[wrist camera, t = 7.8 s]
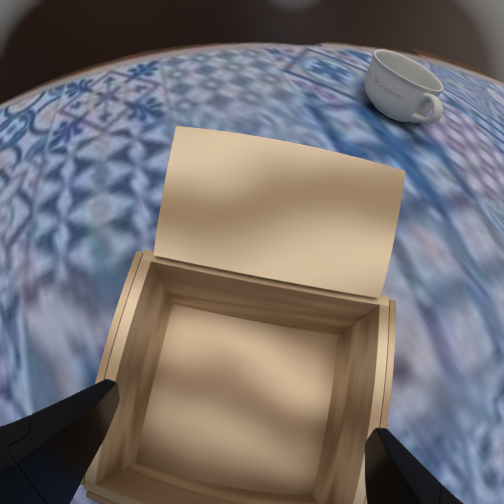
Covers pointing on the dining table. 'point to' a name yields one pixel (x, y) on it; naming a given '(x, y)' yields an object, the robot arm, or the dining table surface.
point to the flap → (279, 210)
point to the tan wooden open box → (240, 389)
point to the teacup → (403, 88)
